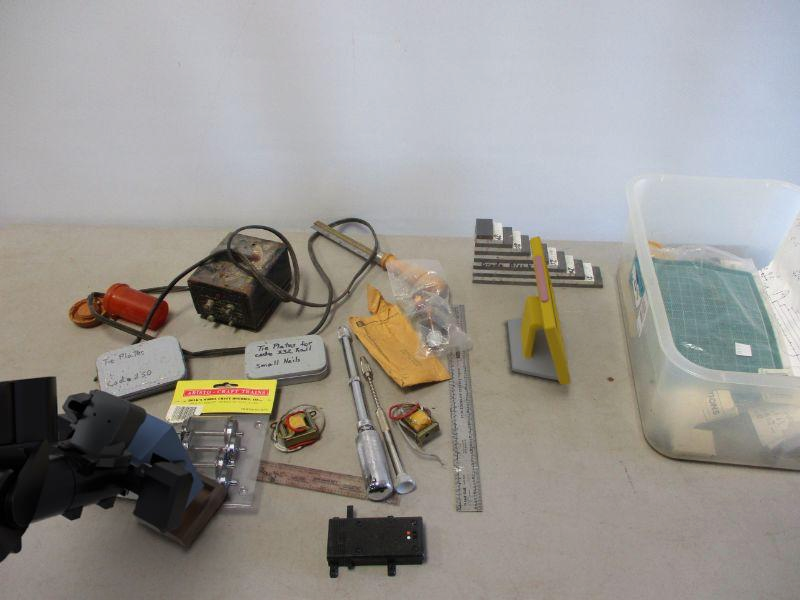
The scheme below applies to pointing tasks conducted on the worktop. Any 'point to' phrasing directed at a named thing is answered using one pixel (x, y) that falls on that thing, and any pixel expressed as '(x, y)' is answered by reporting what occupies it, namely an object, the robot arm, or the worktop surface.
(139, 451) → the blue faceted prism
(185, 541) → the base pad
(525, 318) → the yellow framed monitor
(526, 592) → the worktop surface
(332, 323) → the worktop surface
